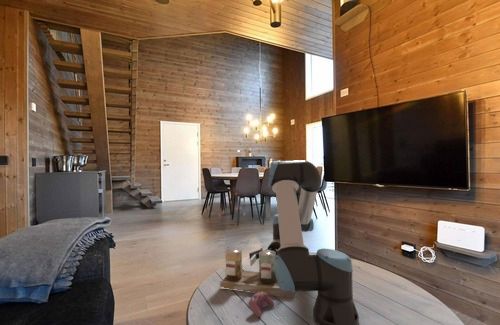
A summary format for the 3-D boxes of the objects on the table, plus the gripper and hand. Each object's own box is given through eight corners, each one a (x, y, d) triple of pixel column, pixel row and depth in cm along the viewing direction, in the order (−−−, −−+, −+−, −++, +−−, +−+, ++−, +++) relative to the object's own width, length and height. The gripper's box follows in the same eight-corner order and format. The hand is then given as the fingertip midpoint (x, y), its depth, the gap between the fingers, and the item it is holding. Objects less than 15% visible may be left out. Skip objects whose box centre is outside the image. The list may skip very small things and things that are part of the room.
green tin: (261, 276, 118) (260, 249, 118) (277, 277, 116) (276, 250, 116) (257, 284, 110) (257, 255, 110) (274, 286, 108) (274, 257, 108)
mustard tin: (229, 272, 122) (228, 247, 122) (244, 274, 119) (243, 248, 119) (222, 280, 114) (222, 253, 114) (238, 282, 112) (237, 254, 112)
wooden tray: (293, 297, 103) (293, 290, 103) (220, 289, 111) (219, 282, 111) (296, 280, 118) (296, 273, 118) (231, 274, 126) (231, 268, 126)
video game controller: (267, 307, 99) (260, 289, 101) (276, 305, 97) (268, 287, 99) (251, 319, 91) (244, 299, 93) (260, 318, 89) (253, 297, 91)
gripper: (300, 258, 127) (294, 276, 106) (253, 253, 134) (239, 269, 114) (300, 243, 127) (294, 258, 106) (253, 239, 134) (238, 253, 114)
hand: (265, 264), depth 110 cm, fingers open, 13 cm apart
